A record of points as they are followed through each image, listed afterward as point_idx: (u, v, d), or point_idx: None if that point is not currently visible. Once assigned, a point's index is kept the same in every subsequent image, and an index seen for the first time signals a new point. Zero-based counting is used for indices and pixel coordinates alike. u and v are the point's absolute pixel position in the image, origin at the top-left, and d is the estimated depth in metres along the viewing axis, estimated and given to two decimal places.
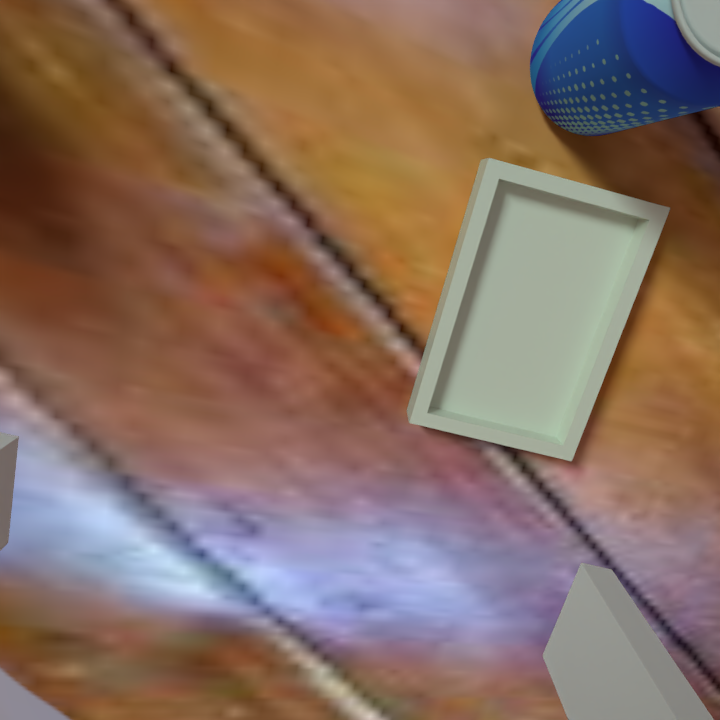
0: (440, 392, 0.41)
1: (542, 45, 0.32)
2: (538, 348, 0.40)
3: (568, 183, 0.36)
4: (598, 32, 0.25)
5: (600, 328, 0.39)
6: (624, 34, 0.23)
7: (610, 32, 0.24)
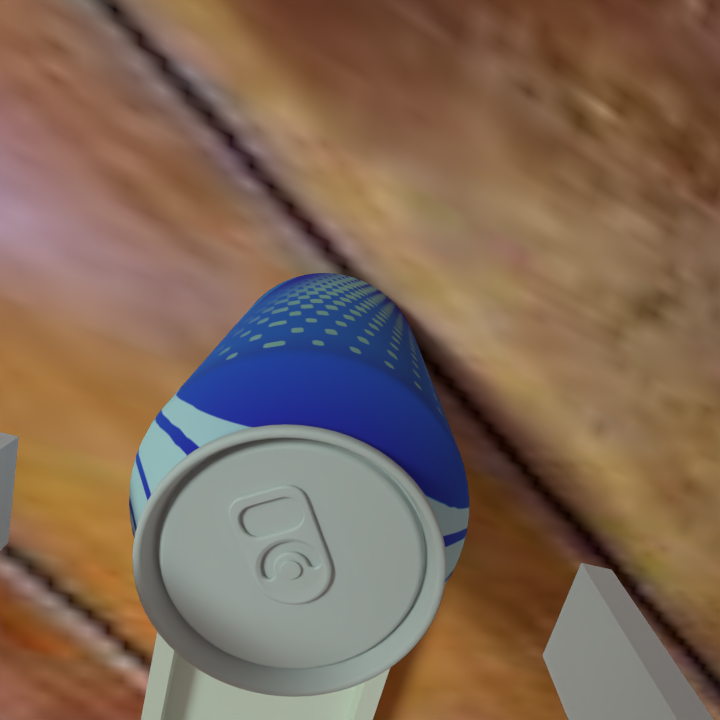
0: None
1: None
2: None
3: None
4: None
5: None
6: None
7: None
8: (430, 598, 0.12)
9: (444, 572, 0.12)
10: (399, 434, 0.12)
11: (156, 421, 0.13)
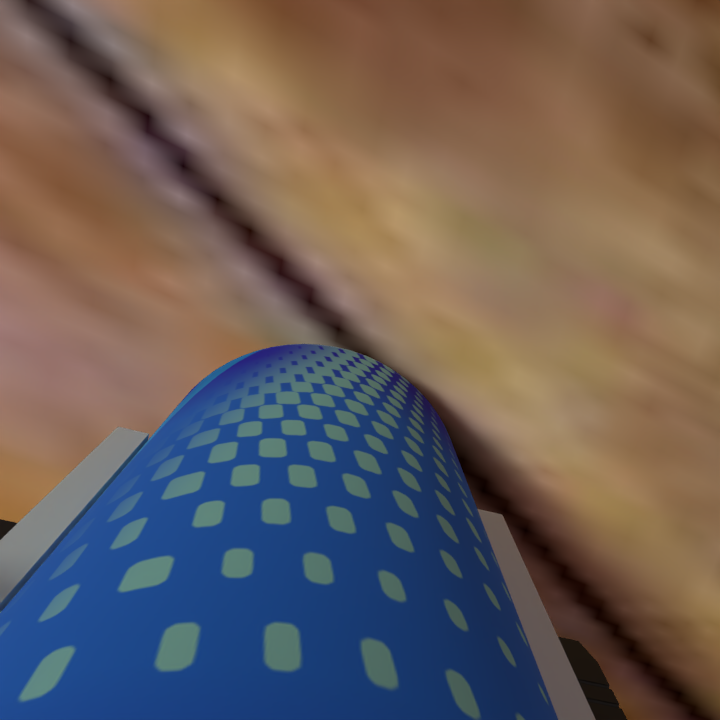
0: None
1: None
2: None
3: None
4: None
5: None
6: None
7: None
8: None
9: None
10: None
11: None
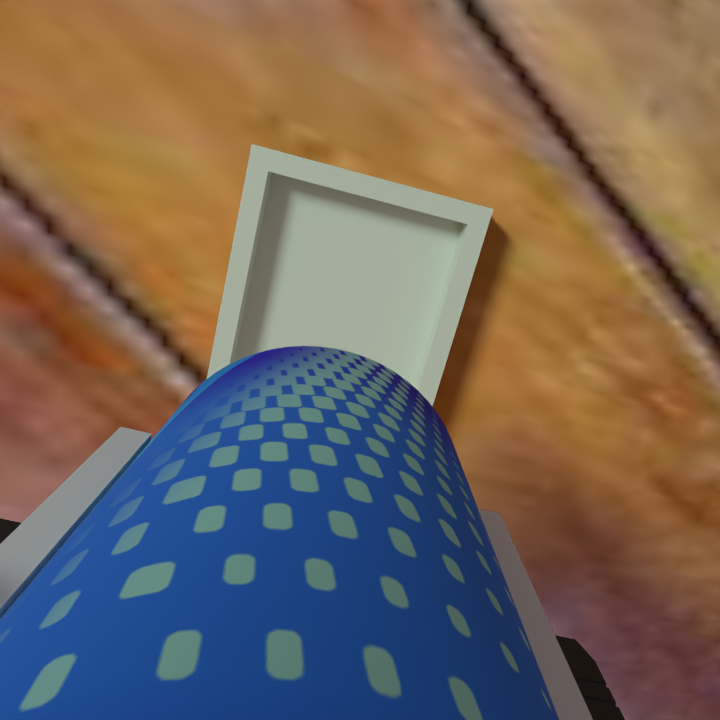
0: None
1: None
2: None
3: (358, 177, 0.28)
4: None
5: (423, 360, 0.31)
6: None
7: None
8: None
9: None
10: None
11: None
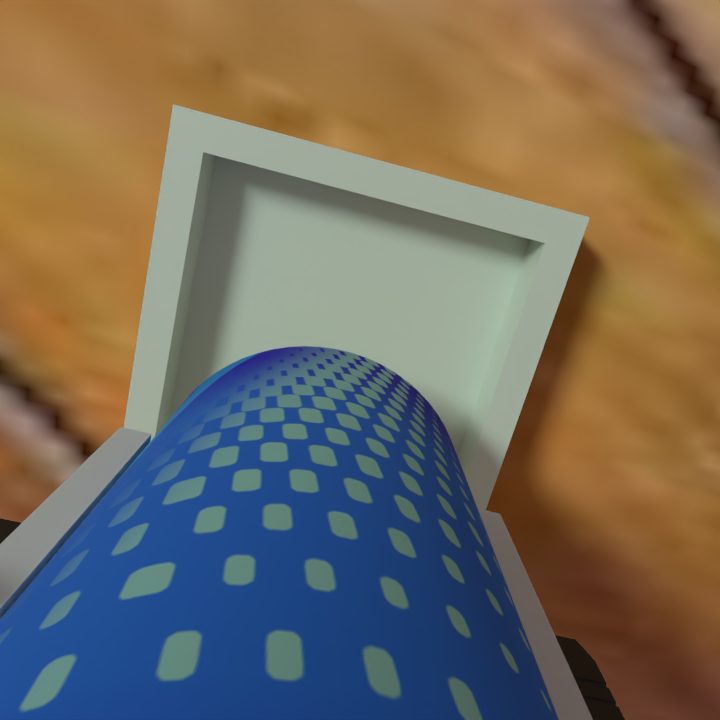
0: None
1: None
2: None
3: (359, 163, 0.16)
4: None
5: (462, 457, 0.20)
6: None
7: None
8: None
9: None
10: None
11: None
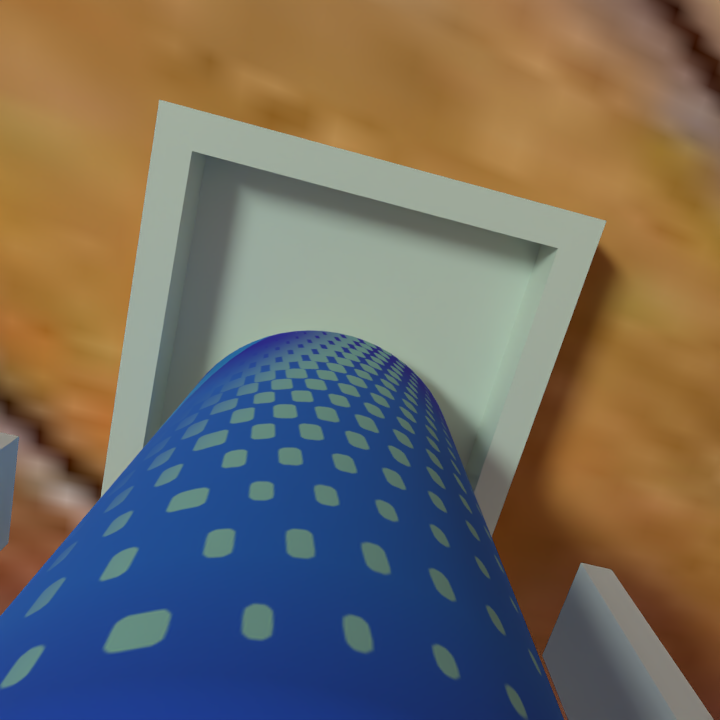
0: None
1: None
2: None
3: (359, 162, 0.15)
4: None
5: (468, 474, 0.18)
6: None
7: None
8: None
9: None
10: None
11: None
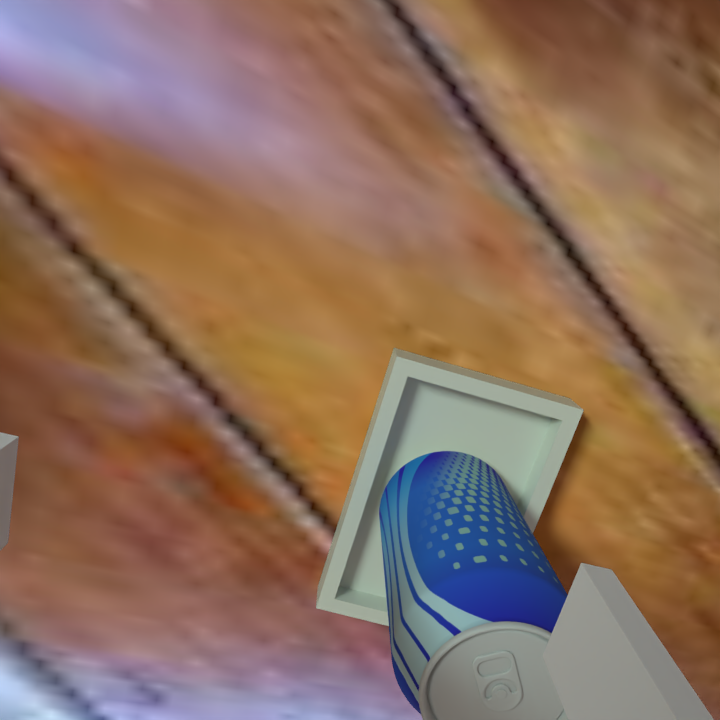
0: (351, 572, 0.39)
1: (381, 523, 0.34)
2: None
3: (478, 383, 0.35)
4: None
5: None
6: (398, 683, 0.25)
7: None
8: None
9: None
10: None
11: (418, 604, 0.24)
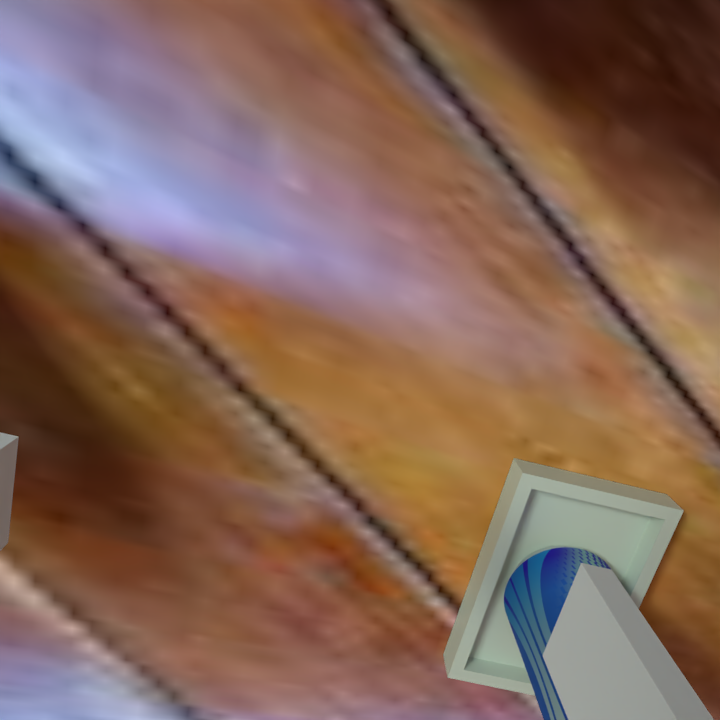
0: (474, 644, 0.45)
1: (512, 613, 0.40)
2: None
3: (593, 492, 0.40)
4: None
5: None
6: None
7: None
8: None
9: None
10: None
11: None
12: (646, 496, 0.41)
